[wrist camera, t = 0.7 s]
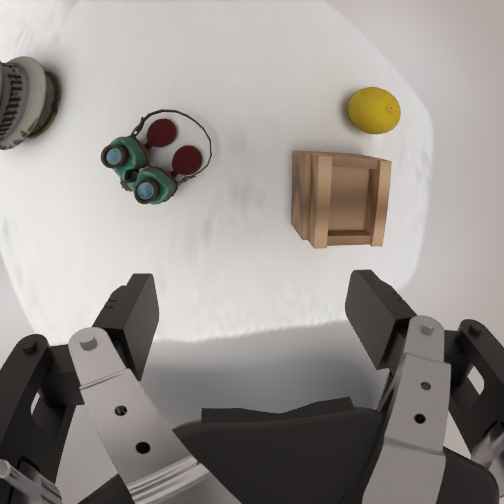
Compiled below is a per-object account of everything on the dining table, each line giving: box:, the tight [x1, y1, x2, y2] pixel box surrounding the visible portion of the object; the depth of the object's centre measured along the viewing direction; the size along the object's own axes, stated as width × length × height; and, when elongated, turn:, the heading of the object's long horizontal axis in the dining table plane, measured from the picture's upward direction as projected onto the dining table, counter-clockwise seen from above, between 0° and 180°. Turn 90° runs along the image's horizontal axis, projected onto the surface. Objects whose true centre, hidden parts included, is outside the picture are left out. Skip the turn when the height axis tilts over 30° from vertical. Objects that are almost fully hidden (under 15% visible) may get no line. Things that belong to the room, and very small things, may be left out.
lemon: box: [348, 87, 400, 134], centre depth 27 cm, size 6×6×8 cm
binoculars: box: [101, 109, 212, 204], centre depth 26 cm, size 9×11×10 cm
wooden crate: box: [291, 151, 391, 248], centre depth 30 cm, size 9×9×8 cm
